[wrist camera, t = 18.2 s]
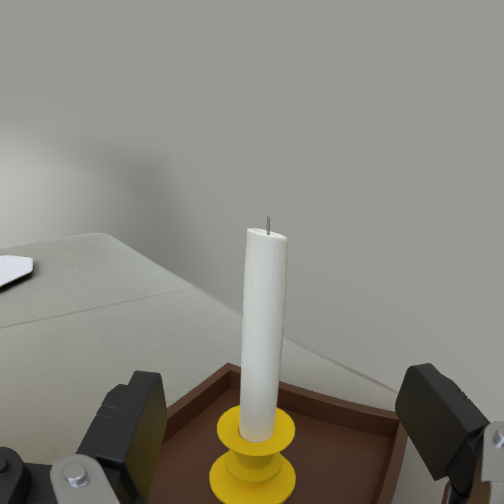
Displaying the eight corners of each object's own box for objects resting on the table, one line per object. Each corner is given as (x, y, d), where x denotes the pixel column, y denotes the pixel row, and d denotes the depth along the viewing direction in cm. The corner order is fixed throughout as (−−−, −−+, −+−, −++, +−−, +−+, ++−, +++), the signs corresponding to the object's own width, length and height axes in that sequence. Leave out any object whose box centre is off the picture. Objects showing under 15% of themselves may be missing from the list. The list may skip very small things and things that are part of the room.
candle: (281, 445, 17) (307, 209, 14) (306, 503, 12) (371, 228, 9) (205, 454, 16) (191, 208, 13) (215, 517, 11) (194, 227, 8)
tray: (227, 385, 25) (227, 362, 24) (400, 437, 17) (411, 414, 17) (90, 489, 12) (76, 467, 11) (324, 619, 4) (339, 616, 4)
